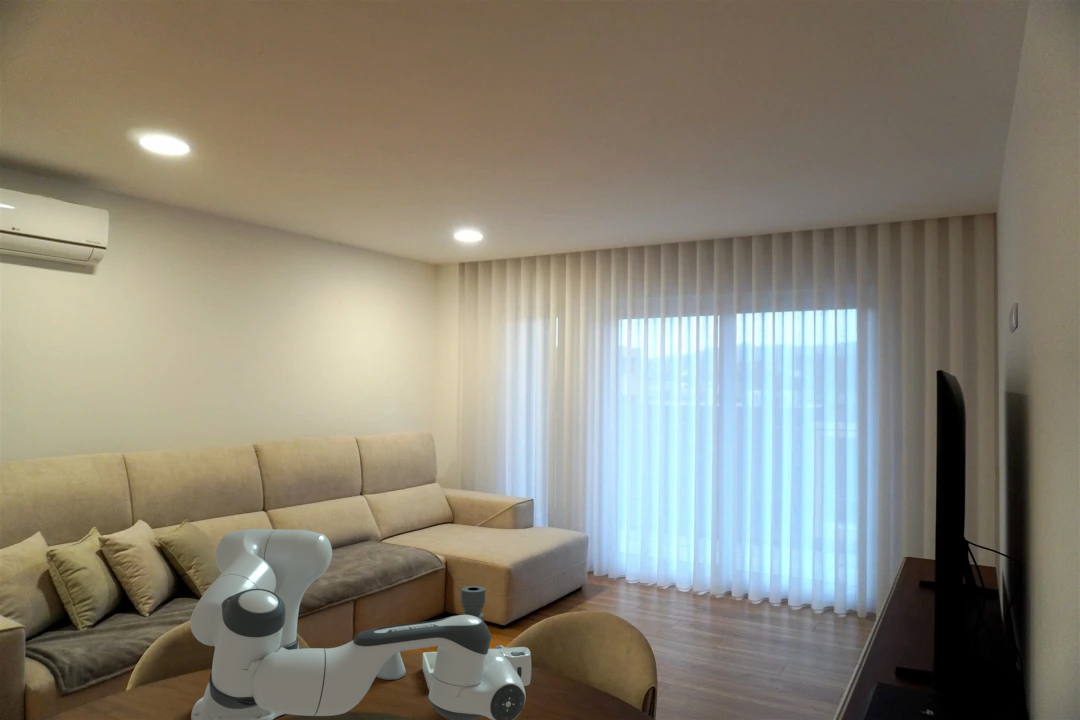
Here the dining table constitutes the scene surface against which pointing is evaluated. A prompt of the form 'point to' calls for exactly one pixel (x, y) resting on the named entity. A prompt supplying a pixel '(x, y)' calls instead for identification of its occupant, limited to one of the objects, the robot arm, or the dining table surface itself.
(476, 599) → the candle holder
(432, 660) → the box
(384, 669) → the flask
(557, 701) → the dining table surface
